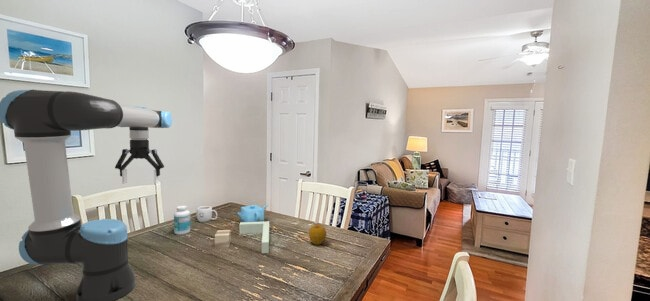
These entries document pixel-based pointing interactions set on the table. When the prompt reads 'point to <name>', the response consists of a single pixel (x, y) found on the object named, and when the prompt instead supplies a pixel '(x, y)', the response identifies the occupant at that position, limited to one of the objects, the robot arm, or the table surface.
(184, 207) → the pill bottle
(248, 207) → the teapot
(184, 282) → the table surface
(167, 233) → the table surface
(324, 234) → the apple
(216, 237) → the maple block
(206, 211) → the mug
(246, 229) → the fence
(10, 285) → the table surface
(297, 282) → the table surface
